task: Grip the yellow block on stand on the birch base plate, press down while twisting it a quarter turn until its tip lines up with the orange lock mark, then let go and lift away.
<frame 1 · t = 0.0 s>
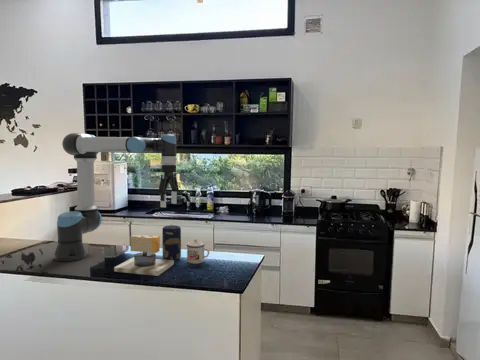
hand: (168, 205, 197), 28 cm above the table, fingers open, 13 cm apart
teacup with lid: (198, 261, 194), on the table
base plate: (145, 267, 183), on the table
canister: (171, 259, 199), on the table
yellow block on stand: (145, 249, 182), point 9 cm above the table, hinge at 0.0°
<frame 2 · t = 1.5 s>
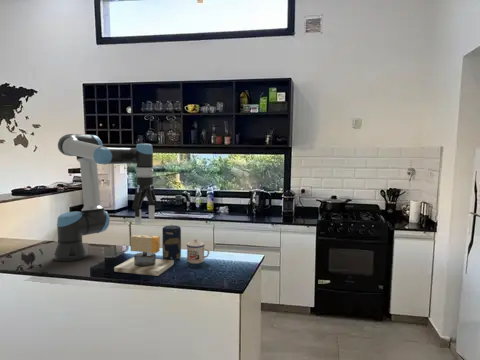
hand: (145, 221, 181), 23 cm above the table, fingers open, 13 cm apart
nothing on the table moved.
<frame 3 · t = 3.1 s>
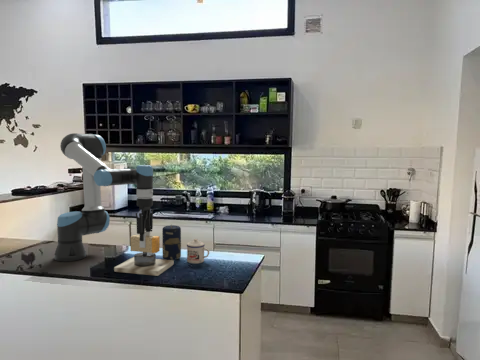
hand: (144, 246, 182), 11 cm above the table, fingers closed on yellow block on stand, 4 cm apart
yellow block on stand: (145, 249, 182), point 9 cm above the table, hinge at 0.0°, touching gripper
everything else where it was.
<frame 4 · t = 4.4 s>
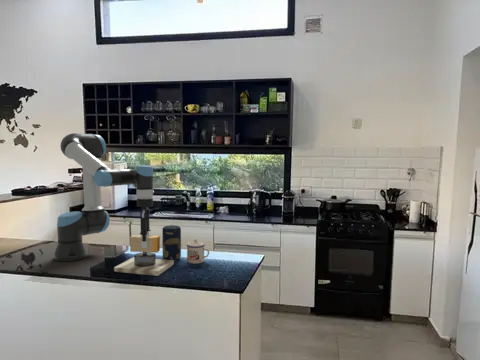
hand: (145, 246, 182), 11 cm above the table, fingers closed on yellow block on stand, 5 cm apart
yellow block on stand: (145, 249, 182), point 9 cm above the table, hinge at 9.0°, touching gripper
everything else where it was.
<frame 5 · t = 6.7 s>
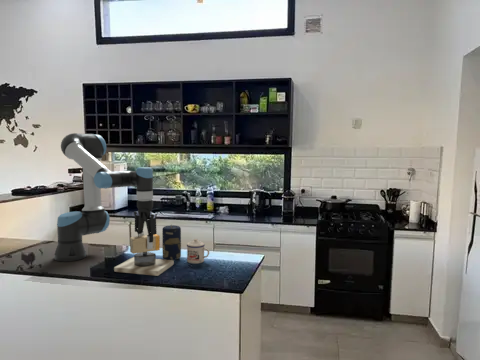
hand: (145, 247, 182), 10 cm above the table, fingers closed on yellow block on stand, 5 cm apart
yellow block on stand: (145, 249, 182), point 9 cm above the table, hinge at 47.2°, touching gripper
everything else where it was.
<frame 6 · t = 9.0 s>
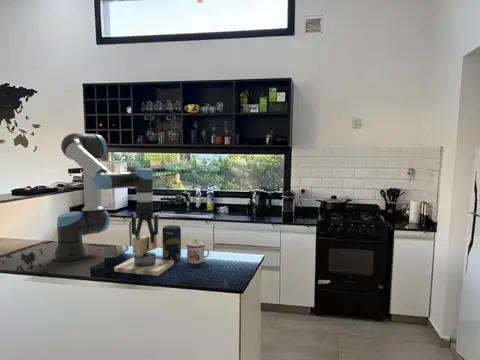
hand: (145, 249, 182), 9 cm above the table, fingers closed on yellow block on stand, 5 cm apart
yellow block on stand: (145, 249, 182), point 9 cm above the table, hinge at 80.5°, touching gripper
everything else where it was.
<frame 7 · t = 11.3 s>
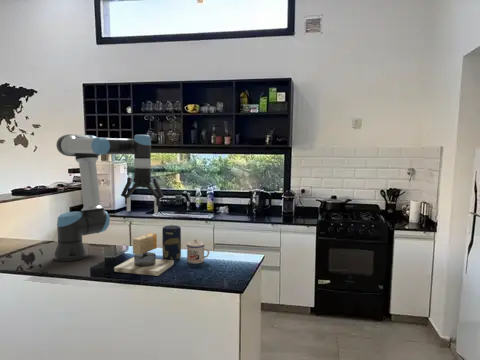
hand: (142, 211, 181), 27 cm above the table, fingers open, 13 cm apart
yellow block on stand: (145, 249, 182), point 9 cm above the table, hinge at 80.9°
everything else where it was.
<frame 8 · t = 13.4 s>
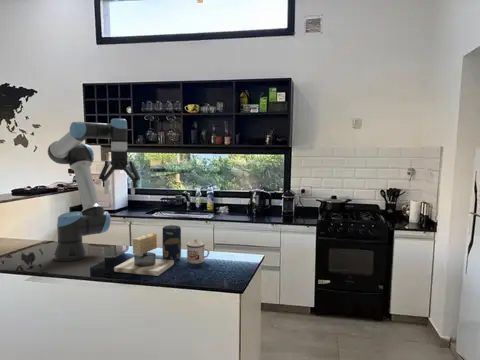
hand: (119, 194, 186), 35 cm above the table, fingers open, 13 cm apart
nothing on the table moved.
at the end: yellow block on stand at +81° (first picture: +0°); the gripper is holding nothing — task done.
